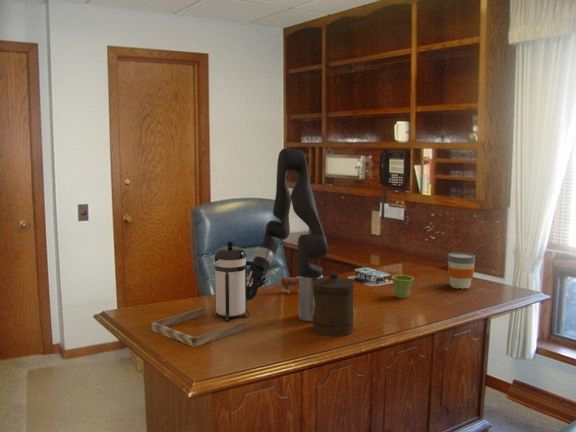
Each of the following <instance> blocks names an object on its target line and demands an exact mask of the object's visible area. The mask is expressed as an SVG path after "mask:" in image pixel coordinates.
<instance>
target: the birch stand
mask: <svg viewBox="0 0 576 432" xmlns="http://www.w3.org/2000/svg"><path fill="white" fill-rule="evenodd" d="M204 310H205V309H204V307H199V308H196V309H193V310H190V311H185V312H181V313H178V314H175V315H172V316H167V317H164V318H161V319H158V320H154V321H150V322H149V325H150V326H149V328H150V331H151V330H152V331H151V332H153V331H155V332H154V333H156V332H157V333H156V334H158V333H160V334H159V335H161V334H162V335H161V336H163V335H165V336H164V337H166V336H168V337H167V338H169V337H170V338H169V339H171V338H173V339H172V340H174V339H176V340H179V341H181V342H184V343H186V344H189V345H192V346H196V345H199V344H202V343H205V342H209V341H212V340H215V339H218V340H220V339H223V338H226V337H229V336H231V335H232V336H233V335H235V334H237V333H241V332H244V331H245V330H247V321H245V320H243V321H239V322H237V323H234V324H231V325H227V326H225V327H222V328H218V329H216V330H212V331H210V332H206V333H203V334H201V335H197V336H192V335H189V334H186V333H184V332H181V331H179V330H176V329H174V328H171V327H170V325H171V326H173V325H177V324H180V323H184V322H187V321H192V320H194V319H197V318H200V317H201V318H202V317H204V316H205V311H204ZM167 326H168V327H167ZM219 338H220V339H219ZM176 340H175V341H176ZM179 341H178V342H179ZM215 341H216V340H215ZM181 342H180V343H181ZM212 342H213V341H212ZM184 343H183V344H184ZM209 343H210V342H209ZM186 344H185V345H186ZM189 345H188V346H189Z"/></svg>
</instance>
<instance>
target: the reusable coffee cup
mask: <svg viewBox="0 0 576 432" xmlns="http://www.w3.org/2000/svg"><path fill="white" fill-rule="evenodd" d="M447 263H448V265H447V271H448V276H449V285H450V287H451V286H452V288H454V289H459V288H461V289H463V290H464V289H465V288H466V289H469V287H470V288H471V283H472V279H473V277H474V273H475V263H476V255H475V254H472V253H469V252H468V253H467V252H458V251H457V252H450V253H448V254H447ZM466 289H465V290H466Z"/></svg>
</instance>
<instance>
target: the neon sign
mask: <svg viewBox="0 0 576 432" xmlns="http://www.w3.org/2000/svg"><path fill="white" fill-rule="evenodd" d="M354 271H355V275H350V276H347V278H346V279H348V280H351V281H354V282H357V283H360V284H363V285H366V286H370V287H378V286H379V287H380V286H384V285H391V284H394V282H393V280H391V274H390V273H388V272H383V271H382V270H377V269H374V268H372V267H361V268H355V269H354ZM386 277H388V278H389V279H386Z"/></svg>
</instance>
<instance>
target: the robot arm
mask: <svg viewBox="0 0 576 432" xmlns="http://www.w3.org/2000/svg"><path fill="white" fill-rule="evenodd" d="M276 167H277V168H276V189H275V190H276V191H275V197H274V203H273V209H272V215H273V216H274V217H276V218H277V219H278V220H280V221H277V220H274V219H273V220H272V219H271V220H270V221H268V222H267V223H266V226H265V232H264V236H263V240H262V243H261V244H260V247H259V249H258V250H257V251H256V253H255V256H254V258H253V259H252V260H251V262H253V263H255V265H256V267H257V273H258V289H259V288H261V287H262V286H263V285H265V284H267V283H268V279H267V277H266V274H267V273H268V271H269V268H270V267H271V264H272V262H273V260H274V257H275V254H276V253H277V250H278V248H279V242H278V241H277V240H276V239H278V240H279V239H280V240H286V239H287V238H288V237H289V235H290V232H291V228H290V227H291V225H290V210H291V205H292V209H293V212H294V213H295V214H296V216H297V217H298V218H300V220H301V221H302V222H303V223H305V224H306V225H307V227H308V228H309V230H310V232H311V233H310V234H309V233H308V234H306V233H305V234H300V236H299V237H298V238H297V239H298V240H297V256H298V257H297V258H298V277H299V293H298V319H299V320H301V321H305V322H313V293H314V281H315V280H317V279H320V278H324V275H323V273H324V271H323V268H322V267H321V266H320V265H316V264H312V263H311V262H310V259H317V258H318V259H319V258H325V257H326V256H327V254H328V250H329V249H328V248H329V247H328V243H327V242H328V240H327V237H326V235H325V232H324V228H323V227H322V224H321V221H320V217H319V214H318V209H317V205H316V200H315V197H314V192H313V189H312V185H311V182H310V181H311V180H310V177H309V176H310V175H309V171H308V170H309V169H308V163H307V158H306V154H305V153H304V151H302V150H301V149H294V148H293V149H292V148H282V149H281V150H280V152H279V154H278V158H277V166H276ZM287 172H295V173H296V176H297V180H296V183H295V184H294V186H293V189H292V190H291V191H290V190H289V188H288V184H287V182H286V180H287V179H286V175H287V174H286V173H287ZM274 238H276V239H274ZM246 278H247V296H249V295H251V293H252V291H253V270H252V267H251V266H249V269H248V270H246Z"/></svg>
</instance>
